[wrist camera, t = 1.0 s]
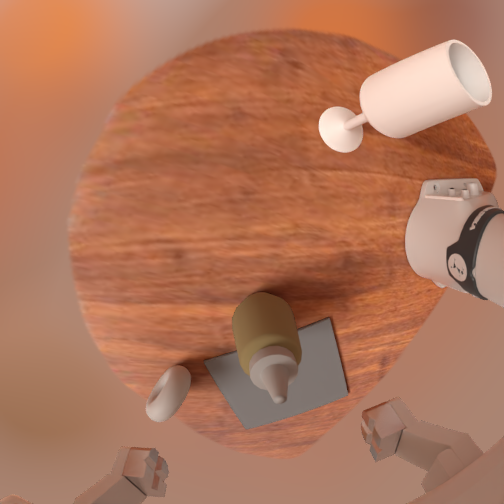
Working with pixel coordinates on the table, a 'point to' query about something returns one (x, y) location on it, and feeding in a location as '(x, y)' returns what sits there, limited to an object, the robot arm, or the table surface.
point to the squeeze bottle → (267, 343)
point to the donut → (168, 393)
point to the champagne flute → (412, 96)
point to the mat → (299, 392)
